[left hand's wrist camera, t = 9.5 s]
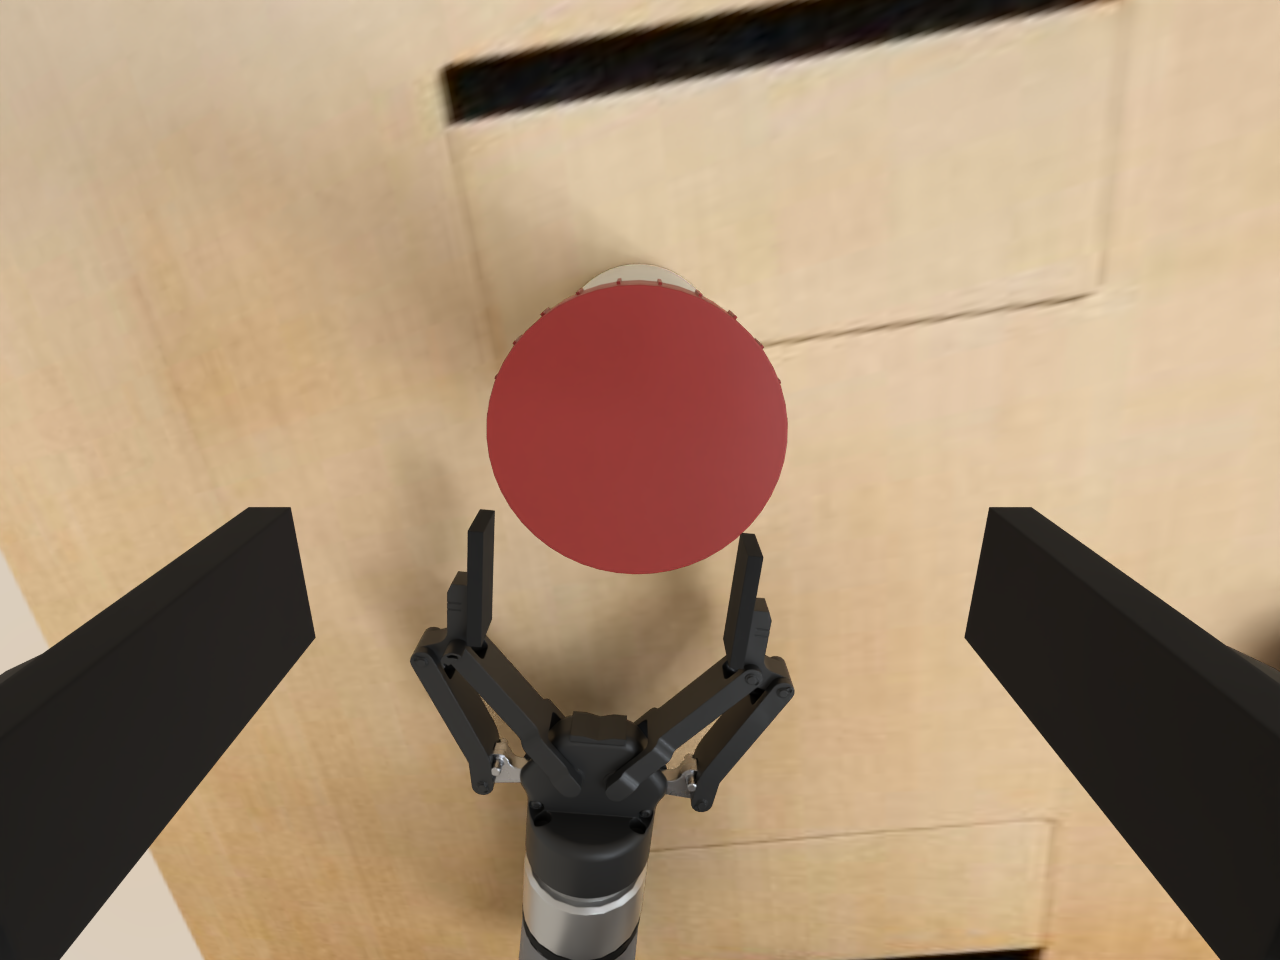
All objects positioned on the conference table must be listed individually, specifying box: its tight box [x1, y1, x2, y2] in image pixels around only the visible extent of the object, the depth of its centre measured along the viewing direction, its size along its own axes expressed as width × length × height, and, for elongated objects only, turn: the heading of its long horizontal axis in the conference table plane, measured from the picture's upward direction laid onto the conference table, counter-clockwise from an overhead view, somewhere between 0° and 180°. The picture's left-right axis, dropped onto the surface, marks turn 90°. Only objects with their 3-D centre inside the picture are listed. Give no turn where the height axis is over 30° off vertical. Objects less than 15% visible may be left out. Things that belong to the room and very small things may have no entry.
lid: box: [487, 278, 788, 574], centre depth 21 cm, size 9×9×2 cm
